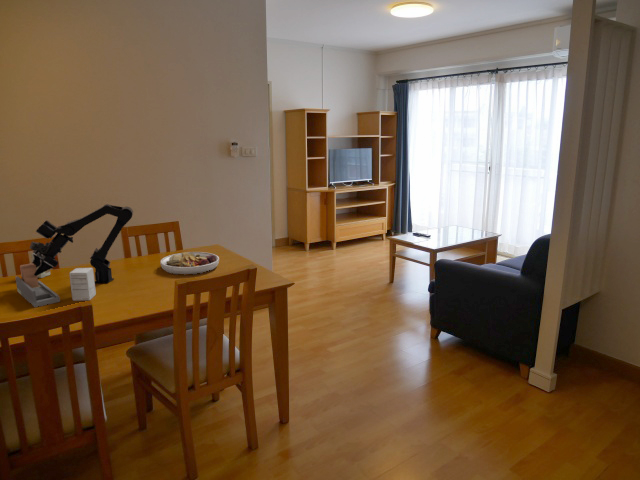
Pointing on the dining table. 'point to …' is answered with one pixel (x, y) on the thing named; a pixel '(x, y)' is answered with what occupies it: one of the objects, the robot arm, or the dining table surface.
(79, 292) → the supplement box
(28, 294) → the channel deck
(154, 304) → the dining table surface
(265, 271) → the dining table surface
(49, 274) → the skincare box
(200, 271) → the bowl
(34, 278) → the terracotta block
